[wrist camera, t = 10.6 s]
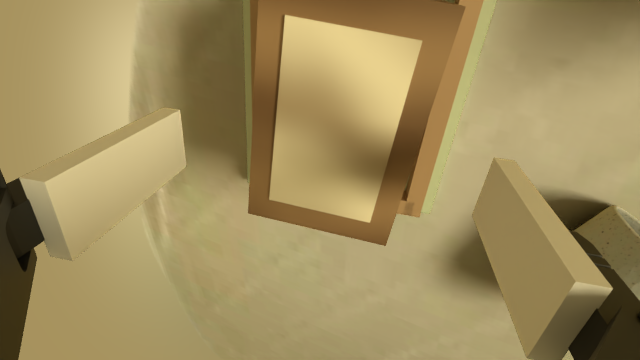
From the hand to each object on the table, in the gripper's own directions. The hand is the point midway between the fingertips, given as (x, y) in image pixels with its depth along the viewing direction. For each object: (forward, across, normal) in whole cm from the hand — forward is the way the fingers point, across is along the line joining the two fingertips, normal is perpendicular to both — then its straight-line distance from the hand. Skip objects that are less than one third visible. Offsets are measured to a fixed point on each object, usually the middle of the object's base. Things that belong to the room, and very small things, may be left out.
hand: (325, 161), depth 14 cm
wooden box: (+10, 0, -1) cm, 10 cm away
